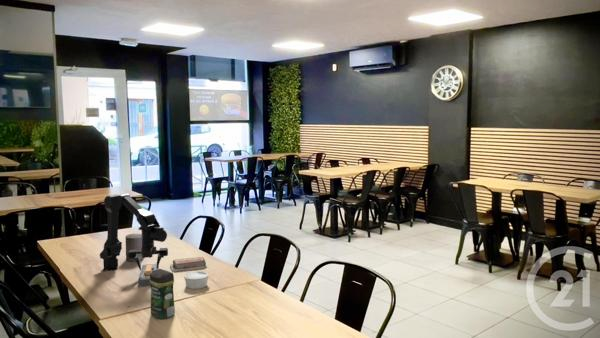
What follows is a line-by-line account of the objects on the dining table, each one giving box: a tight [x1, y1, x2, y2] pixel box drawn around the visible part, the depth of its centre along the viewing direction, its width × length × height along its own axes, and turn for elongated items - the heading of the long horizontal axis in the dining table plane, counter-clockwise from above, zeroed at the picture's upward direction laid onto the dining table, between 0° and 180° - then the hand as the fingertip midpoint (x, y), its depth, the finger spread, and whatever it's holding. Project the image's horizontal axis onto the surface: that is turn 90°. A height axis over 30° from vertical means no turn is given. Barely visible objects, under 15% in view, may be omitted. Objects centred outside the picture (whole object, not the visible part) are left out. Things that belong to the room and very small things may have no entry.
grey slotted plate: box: [137, 263, 160, 287], centre depth 232 cm, size 24×8×3 cm, turn 13°
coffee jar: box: [150, 268, 176, 320], centre depth 187 cm, size 10×8×19 cm
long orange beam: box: [145, 264, 152, 275], centre depth 232 cm, size 2×10×5 cm, turn 13°
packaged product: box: [169, 256, 208, 273], centre depth 249 cm, size 18×5×10 cm
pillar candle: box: [125, 233, 145, 263], centre depth 261 cm, size 10×10×15 cm
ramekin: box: [183, 271, 209, 290], centre depth 221 cm, size 11×11×5 cm
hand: (148, 269), depth 232 cm, fingers open, 8 cm apart
